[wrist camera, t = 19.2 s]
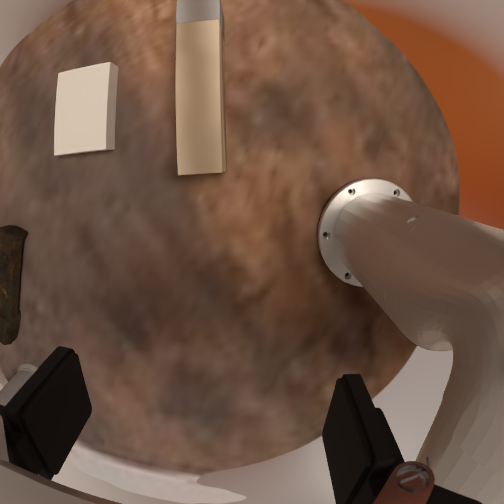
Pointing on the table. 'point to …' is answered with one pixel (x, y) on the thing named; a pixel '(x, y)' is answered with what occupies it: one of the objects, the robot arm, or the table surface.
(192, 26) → the grey-capped beige stick
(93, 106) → the white and teal block
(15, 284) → the hand tool
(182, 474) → the table surface
